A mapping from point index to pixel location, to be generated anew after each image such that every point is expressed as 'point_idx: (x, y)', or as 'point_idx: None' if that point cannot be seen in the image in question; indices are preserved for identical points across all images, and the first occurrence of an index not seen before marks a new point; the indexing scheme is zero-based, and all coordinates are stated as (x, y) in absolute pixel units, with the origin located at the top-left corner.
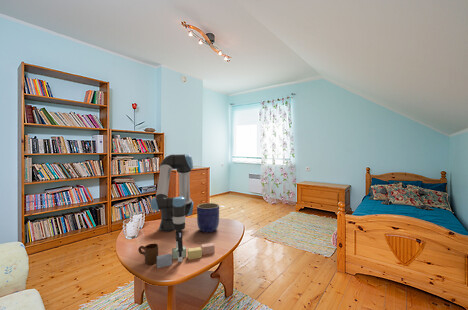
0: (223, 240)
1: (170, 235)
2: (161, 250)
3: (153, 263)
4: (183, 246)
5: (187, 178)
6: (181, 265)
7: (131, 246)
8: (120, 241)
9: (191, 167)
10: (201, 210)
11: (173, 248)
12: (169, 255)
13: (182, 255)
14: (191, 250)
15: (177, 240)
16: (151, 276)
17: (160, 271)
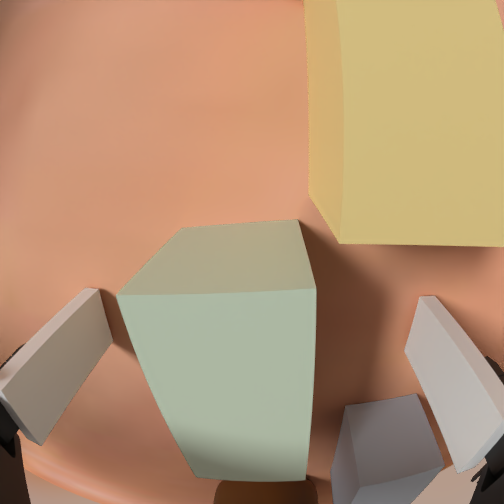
0: None
1: None
2: (82, 422)
3: (314, 487)
4: (130, 332)
5: None
6: (486, 308)
7: (63, 478)
8: (36, 475)
9: None
10: None
11: (196, 468)
12: (400, 485)
13: (475, 349)
14: (485, 151)
15: (6, 433)
16: (451, 459)
17: (442, 439)
